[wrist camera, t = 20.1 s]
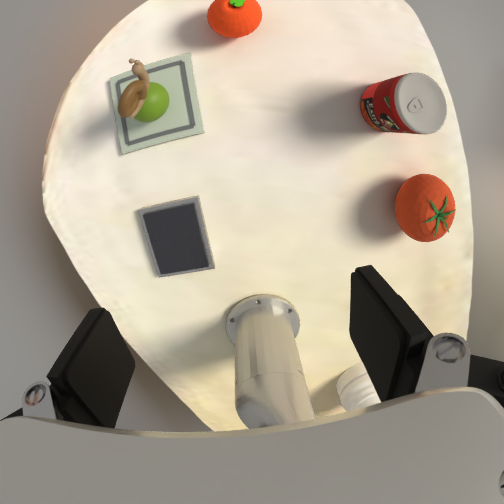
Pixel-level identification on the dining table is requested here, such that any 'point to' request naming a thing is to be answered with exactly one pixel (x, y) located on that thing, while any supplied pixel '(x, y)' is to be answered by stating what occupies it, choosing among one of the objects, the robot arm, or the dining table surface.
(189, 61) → the board
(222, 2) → the clementine
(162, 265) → the ink pad
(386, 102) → the canned food
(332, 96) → the dining table surface
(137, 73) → the snail figurine
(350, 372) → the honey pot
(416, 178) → the tomato
